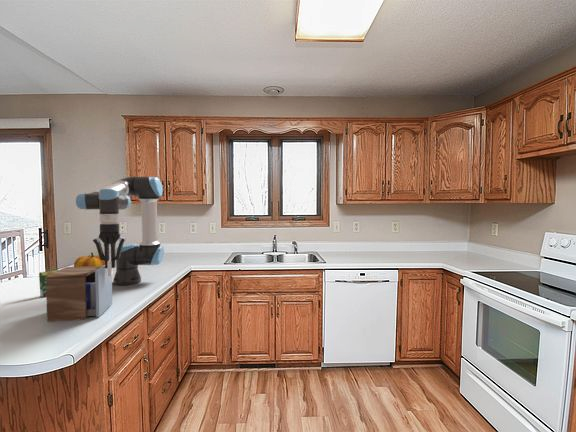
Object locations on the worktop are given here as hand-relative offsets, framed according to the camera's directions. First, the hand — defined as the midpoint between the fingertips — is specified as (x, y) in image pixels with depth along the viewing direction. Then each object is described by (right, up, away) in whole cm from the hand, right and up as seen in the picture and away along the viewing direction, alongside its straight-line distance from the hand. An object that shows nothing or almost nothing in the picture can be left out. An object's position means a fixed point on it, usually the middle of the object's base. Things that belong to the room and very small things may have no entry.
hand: (110, 275), depth 136 cm
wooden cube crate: (-14, -16, -3) cm, 22 cm away
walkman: (-9, -15, -2) cm, 18 cm away
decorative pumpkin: (-52, -13, +67) cm, 86 cm away
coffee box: (-45, -15, +22) cm, 52 cm away
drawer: (-9, -16, -1) cm, 18 cm away
